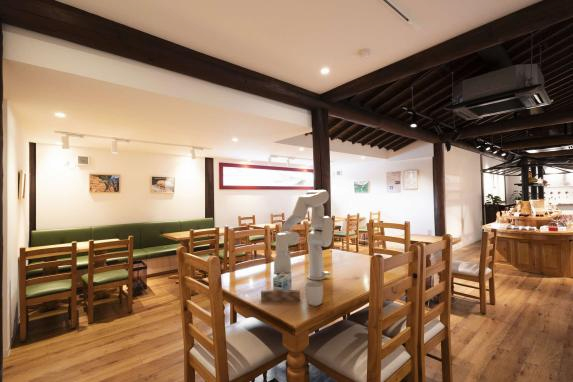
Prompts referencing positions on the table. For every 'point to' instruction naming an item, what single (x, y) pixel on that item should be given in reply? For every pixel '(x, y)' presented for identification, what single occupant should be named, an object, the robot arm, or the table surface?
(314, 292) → the mug
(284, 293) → the walnut board
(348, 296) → the table surface
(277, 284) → the light bulb box
